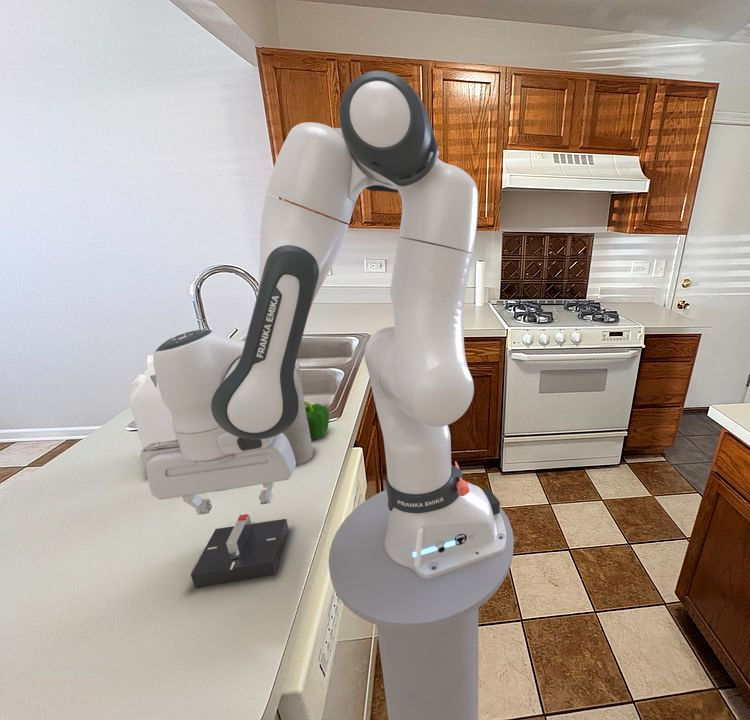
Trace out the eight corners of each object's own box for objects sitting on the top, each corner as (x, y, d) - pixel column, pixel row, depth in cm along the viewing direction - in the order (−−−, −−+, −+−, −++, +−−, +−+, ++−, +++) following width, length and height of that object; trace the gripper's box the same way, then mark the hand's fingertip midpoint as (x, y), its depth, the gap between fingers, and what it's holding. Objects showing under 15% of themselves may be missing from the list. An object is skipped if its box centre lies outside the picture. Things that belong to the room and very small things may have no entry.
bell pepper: (338, 432, 109) (333, 399, 106) (312, 446, 103) (307, 412, 99) (318, 424, 113) (313, 392, 110) (292, 437, 107) (286, 404, 103)
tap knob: (241, 558, 66) (236, 540, 64) (230, 559, 65) (225, 542, 64) (253, 529, 72) (249, 512, 70) (243, 530, 71) (239, 514, 70)
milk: (210, 459, 97) (183, 360, 88) (151, 477, 91) (114, 372, 81) (206, 438, 106) (181, 347, 97) (152, 453, 99) (119, 356, 90)
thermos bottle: (309, 444, 104) (291, 342, 94) (316, 459, 97) (298, 352, 88) (275, 454, 99) (253, 348, 90) (281, 470, 93) (258, 359, 83)
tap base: (289, 529, 76) (286, 516, 75) (274, 576, 66) (271, 562, 65) (220, 539, 73) (216, 526, 72) (193, 590, 63) (188, 575, 62)
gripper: (124, 457, 56) (156, 532, 61) (279, 436, 60) (297, 508, 65) (148, 434, 62) (175, 504, 67) (288, 416, 66) (304, 484, 71)
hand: (236, 506), depth 66 cm, fingers open, 8 cm apart
